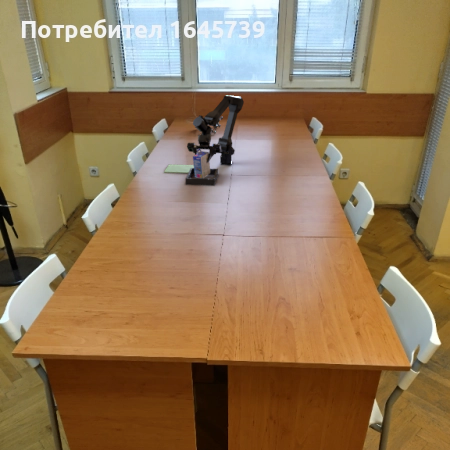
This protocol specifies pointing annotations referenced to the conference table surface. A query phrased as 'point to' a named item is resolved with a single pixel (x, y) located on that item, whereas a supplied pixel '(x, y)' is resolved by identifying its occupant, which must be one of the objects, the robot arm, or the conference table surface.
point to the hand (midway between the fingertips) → (202, 161)
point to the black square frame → (201, 180)
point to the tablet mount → (216, 126)
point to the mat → (178, 168)
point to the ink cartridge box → (201, 164)
